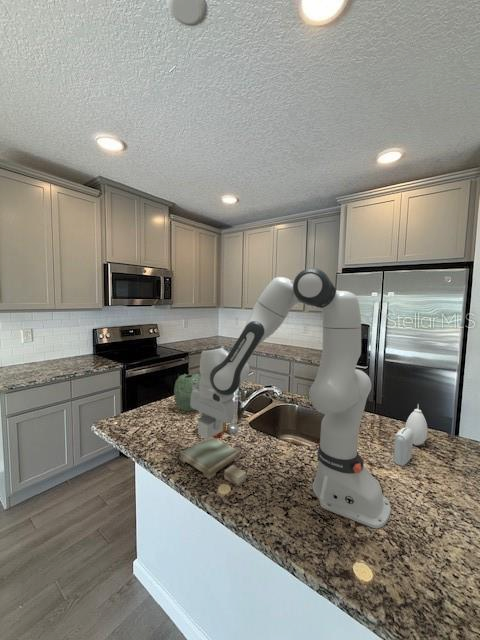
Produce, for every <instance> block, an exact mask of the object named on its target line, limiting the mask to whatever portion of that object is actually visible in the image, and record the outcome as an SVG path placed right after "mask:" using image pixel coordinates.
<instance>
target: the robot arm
mask: <svg viewBox="0 0 480 640" xmlns="http://www.w3.org/2000/svg"><path fill="white" fill-rule="evenodd" d="M299 303H301V304H305V305H307V306H310V307H317V308H319V309H320V311H321V315H322V349H321V359H320V363H319V366H318V371H317V373H316V376H315V379H314V381H313V383H312V385H310V388H309V390H308V391H309V393H308V396H309V400H310V404H311V405H312V407H313V408H314V409H315V410H317V411H318V412H319V413H320V414H323V415H324V416H323V418H322V420H321V424H320V436H319V438H320V439H319V445H318V448H317V449H318V450H317V461H318V462H317V463H318V464H317V469H316V473H315V477H314V480H313V481H312V482H313V483H312V491H313V493H314V495H315V496H316V498H317V500H318V502H319V505H320V507H321V508H322V509H324V510H327V511H329V512H331V513H334V514H337V515H339V516H341V517H344V518H347V519H349V520H353V521H355V522H357V523H359V524H362V525H365V526H367V527H369V528H373V529H377V530H378V529H381V528H382V527H384V526H385V525H386V524H387V522H388V521H389V519H390V517H391V511H392V510H391V509H392V507H391V503H390V501H389V499H388V498H387V496H385V495H384V494H383V491H382V485H381V484H380V482H379V481H378V480H377V479H376V478H375V477H374V476H373V474H371V473H370V471H368V470H367V469H366V468H365V467H364V462H365V459H366V458H365V457H366V456H365V455H363V456H362V457H361V455H360V454H359V452H358V445H359V433H360V432H359V431H360V427H361V423H362V419H363V415H364V412H365V407H366V403H367V400H368V396H369V394H370V393H371V391H372V381H371V379H370V377H369V375H368V374H367V373H366V372H364V371H363V370H361V369H358V368H357V364H358V361H359V358H360V357H361V355H362V316H361V309H360V304H359V299H358V297H357V295H356V294H355V293H352V292H351V291H346V290H338V289H336V288H335V286H334V284H333V283H332V280H331V279H330V277H329V276H328V275H327V274H326V273H325V272H324V271H323V270H321V269H319V268H316V267H309V268H305V269H303V270H301V271H300V272H299V273H297V275H296V276H295V278H294V280H291V279H289V278H288V277H285V276H277V277H274V278H273V279H272V280H271V281H270V282H269V284H268V285H267V286H266V287H265V288H264V289H263V292H261V294H260V296H259V297H258V299H257V300H256V302H255V304H254V306H253V308H252V310H251V311H250V314H249V316H248V319H247V321H246V323H245V325H244V328H243V330H242V332H241V334H240V335H239V337H238V338H237V340H236V342H235V343H234V345H233V347H232V348H231V350H230V351H227V350H225V348H223V346H220V345H216V346H215V345H214V346H210V347H206V348H204V349H203V350H202V351H201V354H200V360H199V373H200V374H199V375H200V377H201V378H200V383H199V385H194V386H193V388H192V393H191V400H190V405H191V408H193V409H195V410H194V411H198V412H199V416H200V418H201V417H203V416H205V415H209V416H211V417H213V418H215V419H216V421H217V422H216V424H214V429H216V430H218V429H219V428H220V424H221V422H224V423H226V424H230V423H232V421H234V420H235V402H234V401H233V399H234V398H235V394H234V393H236V392H237V390H238V389H239V387H240V386H241V385H242V384H243V383H244V382H245V381H246V380H247V379H248V377H249V375H250V372H251V369H250V364H249V363H248V361H249V360H250V358H251V357H252V355H253V354H254V351H256V349H257V348H258V347H259V346H260V345H261V343H263V342H264V341H265V340H267V339H268V338H269V337H271V336H272V335H273V334H274V333H275V332H276V331H277V330H278V329H279V328H280V327H281V325H282V324H283V323H284V321H285V320H286V317H287V316H288V315H289V313H290V311H291V309H292V308H293V307H294V306H295V305H296V304H299Z"/></svg>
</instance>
